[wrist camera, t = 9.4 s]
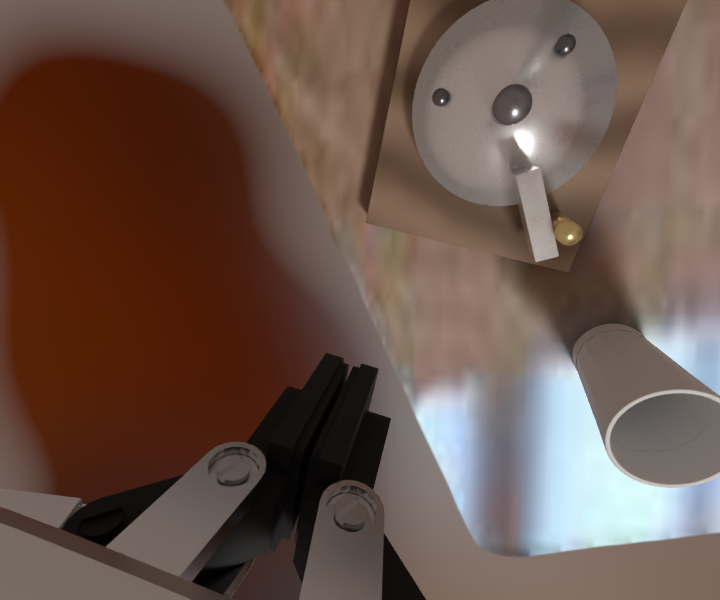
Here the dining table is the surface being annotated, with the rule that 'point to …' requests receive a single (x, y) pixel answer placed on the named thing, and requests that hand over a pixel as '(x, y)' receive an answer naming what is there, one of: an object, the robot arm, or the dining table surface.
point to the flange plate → (539, 128)
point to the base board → (572, 199)
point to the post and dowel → (511, 110)
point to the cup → (649, 409)
